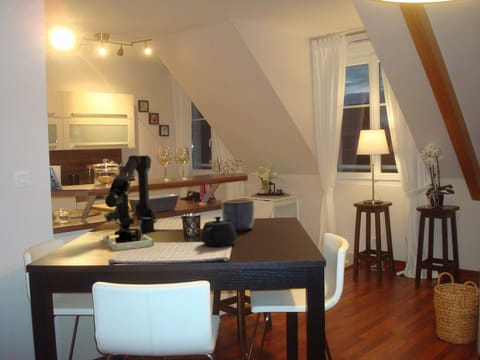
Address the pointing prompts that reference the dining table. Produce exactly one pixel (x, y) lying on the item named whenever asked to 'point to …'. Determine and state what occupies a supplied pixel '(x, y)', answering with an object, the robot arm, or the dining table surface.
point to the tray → (132, 244)
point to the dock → (108, 238)
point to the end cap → (127, 235)
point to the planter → (239, 213)
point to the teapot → (218, 233)
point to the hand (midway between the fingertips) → (124, 237)
